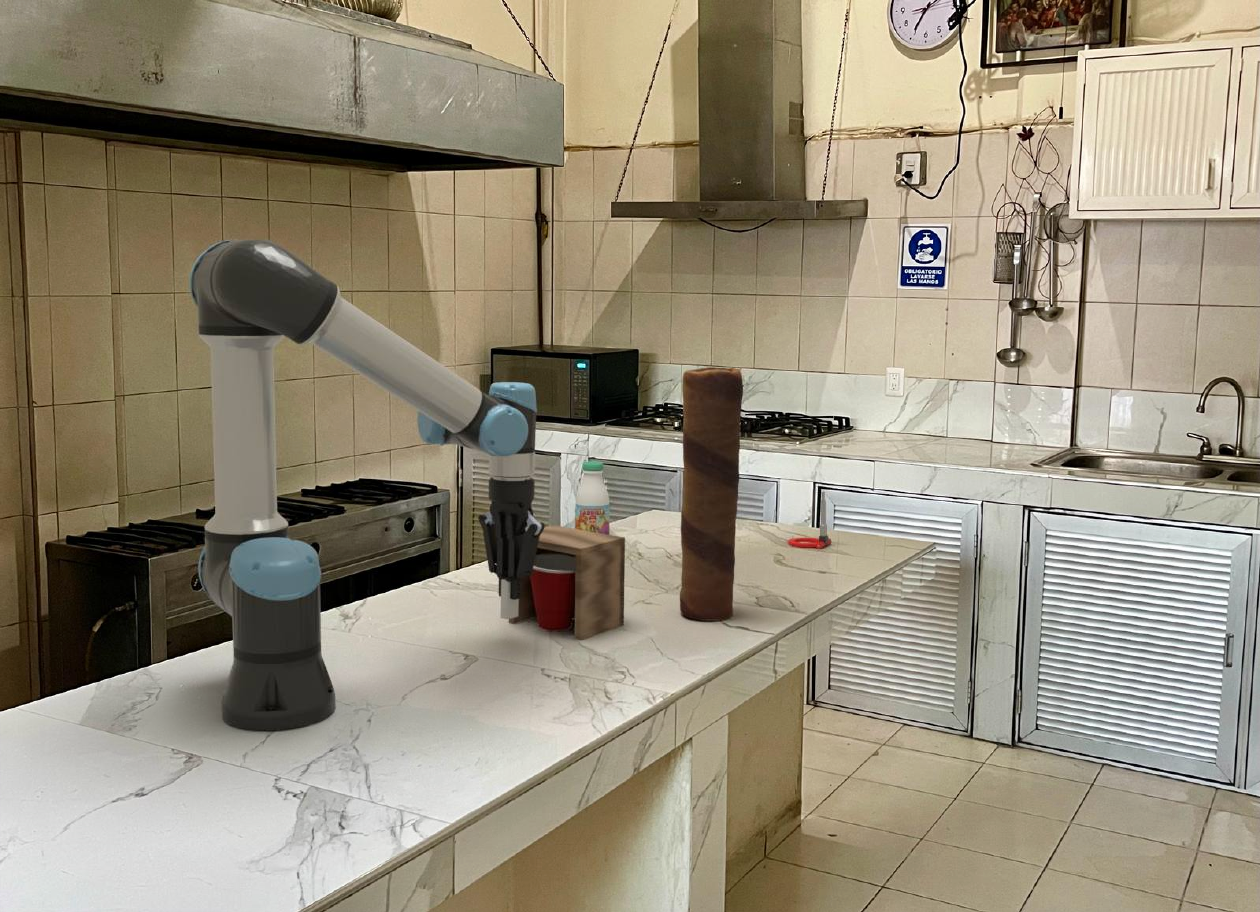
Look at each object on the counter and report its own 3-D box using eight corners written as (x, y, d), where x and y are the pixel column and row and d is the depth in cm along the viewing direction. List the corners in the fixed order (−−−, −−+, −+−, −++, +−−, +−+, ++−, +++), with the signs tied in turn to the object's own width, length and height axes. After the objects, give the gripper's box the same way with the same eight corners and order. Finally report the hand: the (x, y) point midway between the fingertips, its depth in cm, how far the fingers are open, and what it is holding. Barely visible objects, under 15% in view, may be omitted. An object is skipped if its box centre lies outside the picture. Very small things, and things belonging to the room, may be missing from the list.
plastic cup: (560, 639, 203) (561, 570, 202) (512, 628, 210) (512, 560, 208) (599, 625, 212) (600, 558, 210) (552, 615, 218) (552, 550, 217)
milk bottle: (571, 547, 274) (571, 460, 272) (603, 545, 277) (604, 459, 274) (579, 554, 267) (580, 465, 264) (613, 553, 269) (614, 464, 267)
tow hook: (782, 547, 280) (820, 550, 276) (781, 492, 279) (820, 494, 274) (796, 541, 287) (833, 543, 283) (795, 487, 286) (832, 489, 281)
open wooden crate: (580, 640, 203) (581, 548, 201) (508, 622, 213) (508, 535, 211) (623, 624, 213) (625, 537, 210) (553, 608, 223) (553, 525, 220)
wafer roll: (729, 625, 213) (736, 370, 207) (671, 619, 217) (676, 368, 210) (743, 611, 223) (750, 367, 217) (688, 605, 226) (693, 365, 220)
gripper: (556, 479, 197) (553, 619, 200) (498, 470, 205) (496, 606, 208) (525, 484, 191) (523, 629, 194) (467, 474, 199) (465, 614, 202)
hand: (509, 616), depth 201 cm, fingers closed
